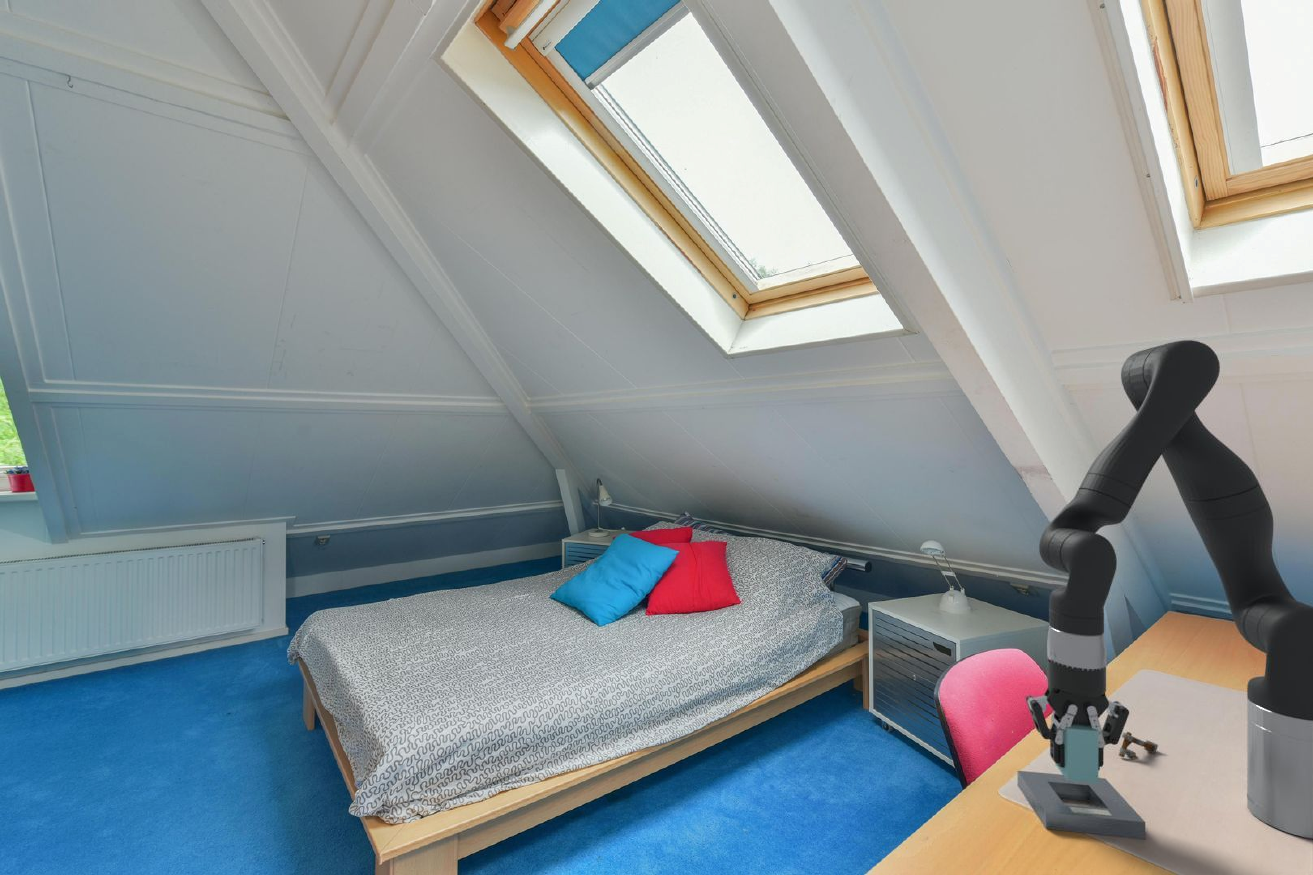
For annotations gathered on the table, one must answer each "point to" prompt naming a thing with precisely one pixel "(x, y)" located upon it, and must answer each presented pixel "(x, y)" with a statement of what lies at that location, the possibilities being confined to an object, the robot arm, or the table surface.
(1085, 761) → the teal peg
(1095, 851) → the table surface
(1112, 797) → the rail plate
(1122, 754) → the brown piece
